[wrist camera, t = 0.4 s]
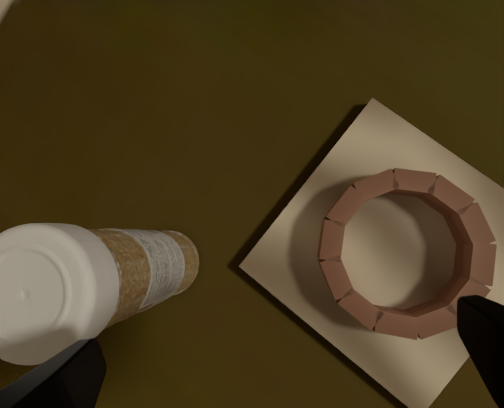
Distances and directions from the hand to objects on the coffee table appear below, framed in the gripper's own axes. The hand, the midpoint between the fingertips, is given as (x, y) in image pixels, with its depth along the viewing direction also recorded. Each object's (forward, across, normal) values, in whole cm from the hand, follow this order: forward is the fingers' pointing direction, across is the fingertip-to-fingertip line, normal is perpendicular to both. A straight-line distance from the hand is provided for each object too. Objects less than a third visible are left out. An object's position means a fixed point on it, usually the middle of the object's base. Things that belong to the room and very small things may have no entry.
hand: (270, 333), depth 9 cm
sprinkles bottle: (+14, +8, +4) cm, 17 cm away
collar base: (+14, -7, +5) cm, 16 cm away
